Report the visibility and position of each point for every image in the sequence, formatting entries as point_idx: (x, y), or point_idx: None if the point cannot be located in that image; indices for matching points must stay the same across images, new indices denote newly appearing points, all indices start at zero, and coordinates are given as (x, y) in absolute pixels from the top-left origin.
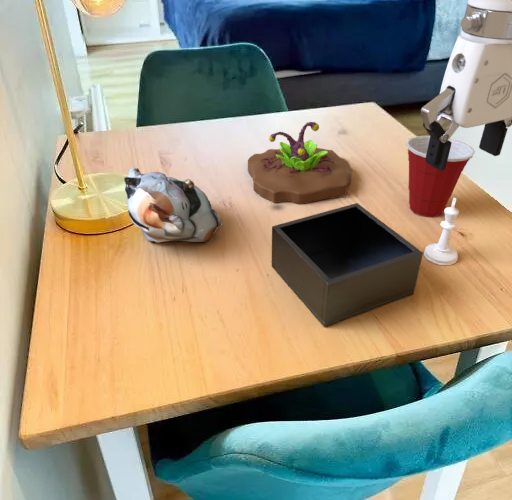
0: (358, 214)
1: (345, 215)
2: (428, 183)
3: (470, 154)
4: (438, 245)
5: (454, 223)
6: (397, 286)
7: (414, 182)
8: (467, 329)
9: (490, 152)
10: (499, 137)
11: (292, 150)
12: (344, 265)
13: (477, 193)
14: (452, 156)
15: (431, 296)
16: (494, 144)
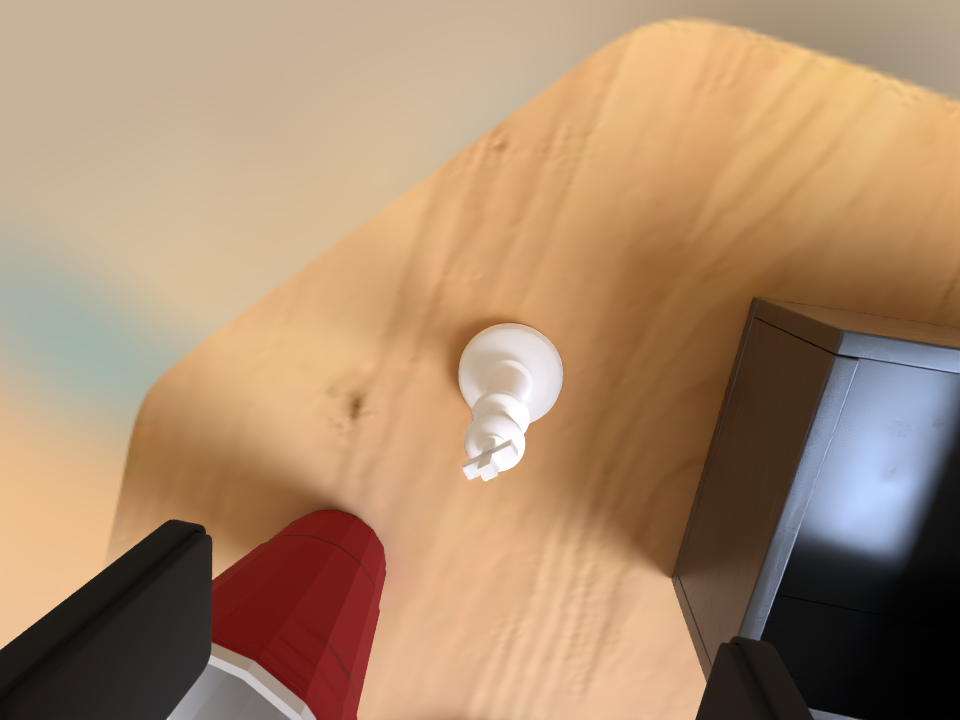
0: None
1: None
2: (350, 626)
3: None
4: (524, 394)
5: (480, 406)
6: (874, 320)
7: (367, 661)
8: (774, 77)
9: (204, 576)
10: (87, 653)
11: None
12: (817, 514)
13: (129, 512)
14: None
15: (715, 257)
16: (154, 616)
